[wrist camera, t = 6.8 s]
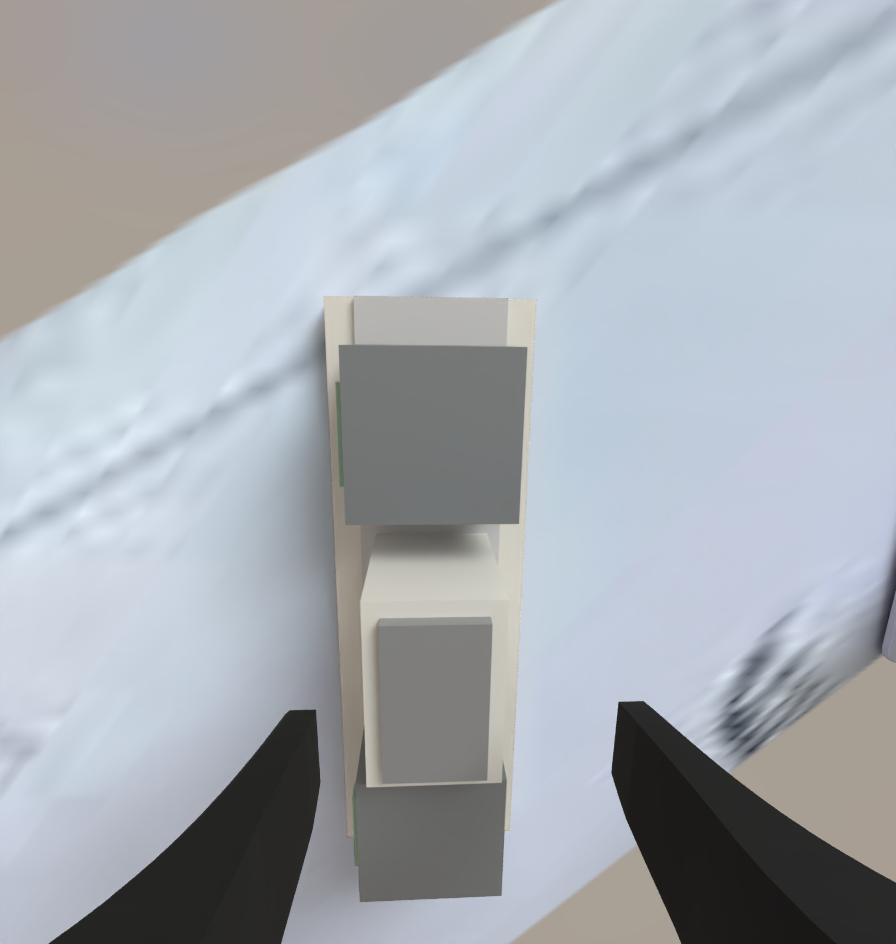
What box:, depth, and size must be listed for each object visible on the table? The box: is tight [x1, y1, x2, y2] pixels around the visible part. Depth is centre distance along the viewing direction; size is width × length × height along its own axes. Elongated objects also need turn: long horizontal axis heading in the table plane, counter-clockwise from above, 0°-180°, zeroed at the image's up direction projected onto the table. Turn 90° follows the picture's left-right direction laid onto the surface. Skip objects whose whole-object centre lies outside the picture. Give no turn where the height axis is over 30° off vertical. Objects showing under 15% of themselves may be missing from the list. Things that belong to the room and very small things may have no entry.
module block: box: [360, 533, 510, 787], centre depth 17 cm, size 4×6×5 cm, turn 179°
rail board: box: [324, 296, 537, 902], centre depth 18 cm, size 7×22×5 cm, turn 179°
